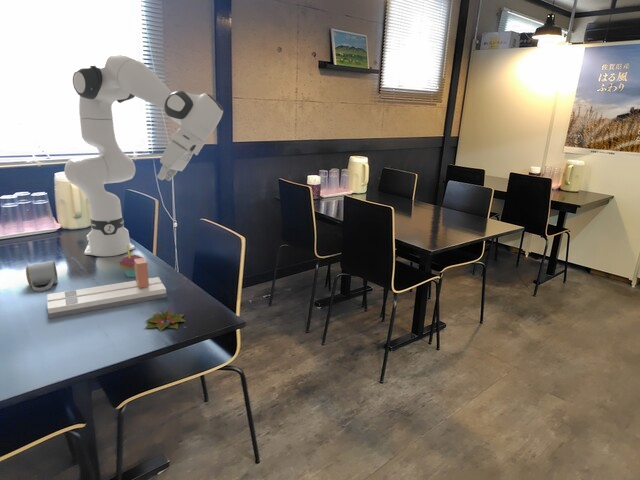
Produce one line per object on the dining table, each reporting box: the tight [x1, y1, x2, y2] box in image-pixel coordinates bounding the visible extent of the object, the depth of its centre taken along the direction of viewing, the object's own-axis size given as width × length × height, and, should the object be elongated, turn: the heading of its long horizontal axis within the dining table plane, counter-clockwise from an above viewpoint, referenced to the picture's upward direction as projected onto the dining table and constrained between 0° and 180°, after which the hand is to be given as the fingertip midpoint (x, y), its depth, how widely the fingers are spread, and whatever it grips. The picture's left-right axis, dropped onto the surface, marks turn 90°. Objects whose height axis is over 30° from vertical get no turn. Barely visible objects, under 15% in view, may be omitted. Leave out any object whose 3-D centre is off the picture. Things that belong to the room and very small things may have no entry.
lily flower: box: [143, 306, 187, 332], centre depth 121 cm, size 12×12×5 cm
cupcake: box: [119, 246, 143, 278], centre depth 153 cm, size 9×8×12 cm
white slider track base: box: [46, 276, 167, 319], centre depth 133 cm, size 11×32×3 cm, turn 121°
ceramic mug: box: [25, 260, 59, 292], centre depth 141 cm, size 11×8×8 cm
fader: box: [134, 257, 149, 288], centre depth 137 cm, size 5×3×10 cm, turn 31°
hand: (163, 179), depth 135 cm, fingers open, 8 cm apart
